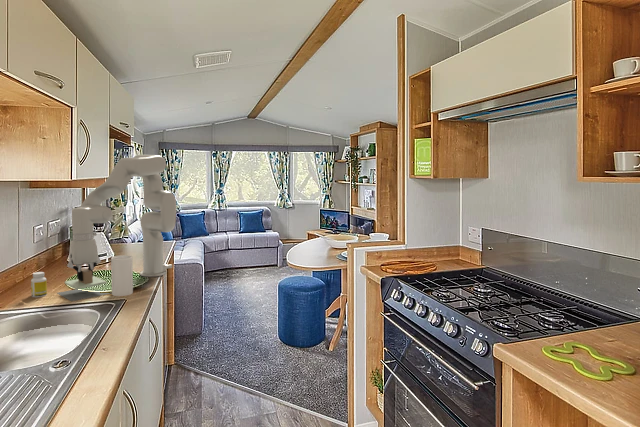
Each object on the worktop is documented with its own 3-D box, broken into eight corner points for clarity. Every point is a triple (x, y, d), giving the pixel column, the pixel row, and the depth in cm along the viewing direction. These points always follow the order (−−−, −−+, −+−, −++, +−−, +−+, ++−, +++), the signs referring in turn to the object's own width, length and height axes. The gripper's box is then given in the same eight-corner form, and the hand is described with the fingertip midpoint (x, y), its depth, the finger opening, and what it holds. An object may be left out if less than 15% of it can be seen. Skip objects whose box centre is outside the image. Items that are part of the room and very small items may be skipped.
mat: (95, 286, 198) (95, 285, 198) (111, 294, 188) (111, 293, 188) (56, 293, 186) (56, 292, 186) (71, 302, 176) (71, 301, 176)
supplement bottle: (50, 295, 184) (49, 272, 183) (38, 298, 179) (37, 275, 178) (39, 293, 185) (39, 270, 184) (28, 297, 180) (27, 273, 179)
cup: (125, 297, 184) (124, 259, 182) (107, 295, 185) (106, 258, 184) (136, 292, 192) (136, 256, 190) (120, 290, 193) (119, 254, 192)
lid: (94, 277, 195) (93, 265, 195) (106, 283, 188) (105, 270, 187) (64, 283, 186) (63, 270, 186) (76, 289, 179) (75, 275, 178)
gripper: (99, 233, 193) (101, 274, 195) (58, 238, 181) (60, 281, 183) (107, 235, 188) (108, 277, 191) (65, 240, 176) (68, 285, 178)
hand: (85, 279), depth 187 cm, fingers closed on lid, 3 cm apart
